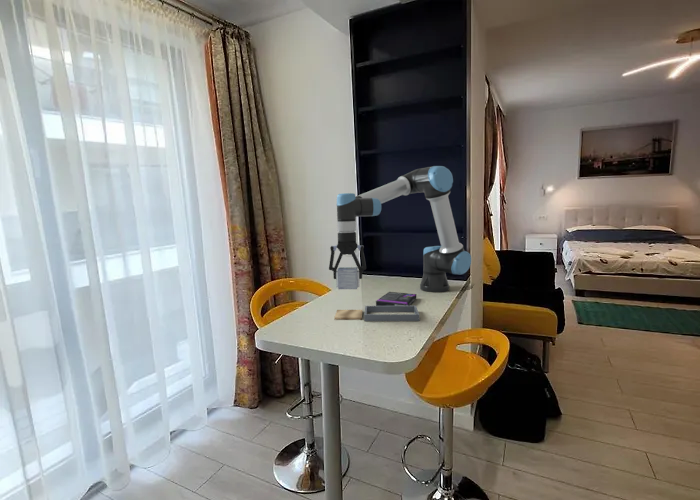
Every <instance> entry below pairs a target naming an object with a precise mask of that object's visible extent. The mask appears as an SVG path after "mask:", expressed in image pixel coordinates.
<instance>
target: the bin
mask: <svg viewBox="0 0 700 500" xmlns="http://www.w3.org/2000/svg"><path fill="white" fill-rule="evenodd" d="M364 306H365V307H364V314H363V315H364V317H363V318H364V319H363V320H364V322H420V313H419V310H418V307H417V305H410V306H376V305H364ZM400 312H401V314H399V313H400ZM371 313H372V314H371ZM373 313H375V314H373ZM376 313H378V314H376ZM381 313H385V314H381ZM389 313H391V314H389ZM392 313H393V314H392ZM394 313H395V314H394ZM402 313H403V314H402ZM405 313H406V314H405ZM410 313H411V314H410Z"/></svg>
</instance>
